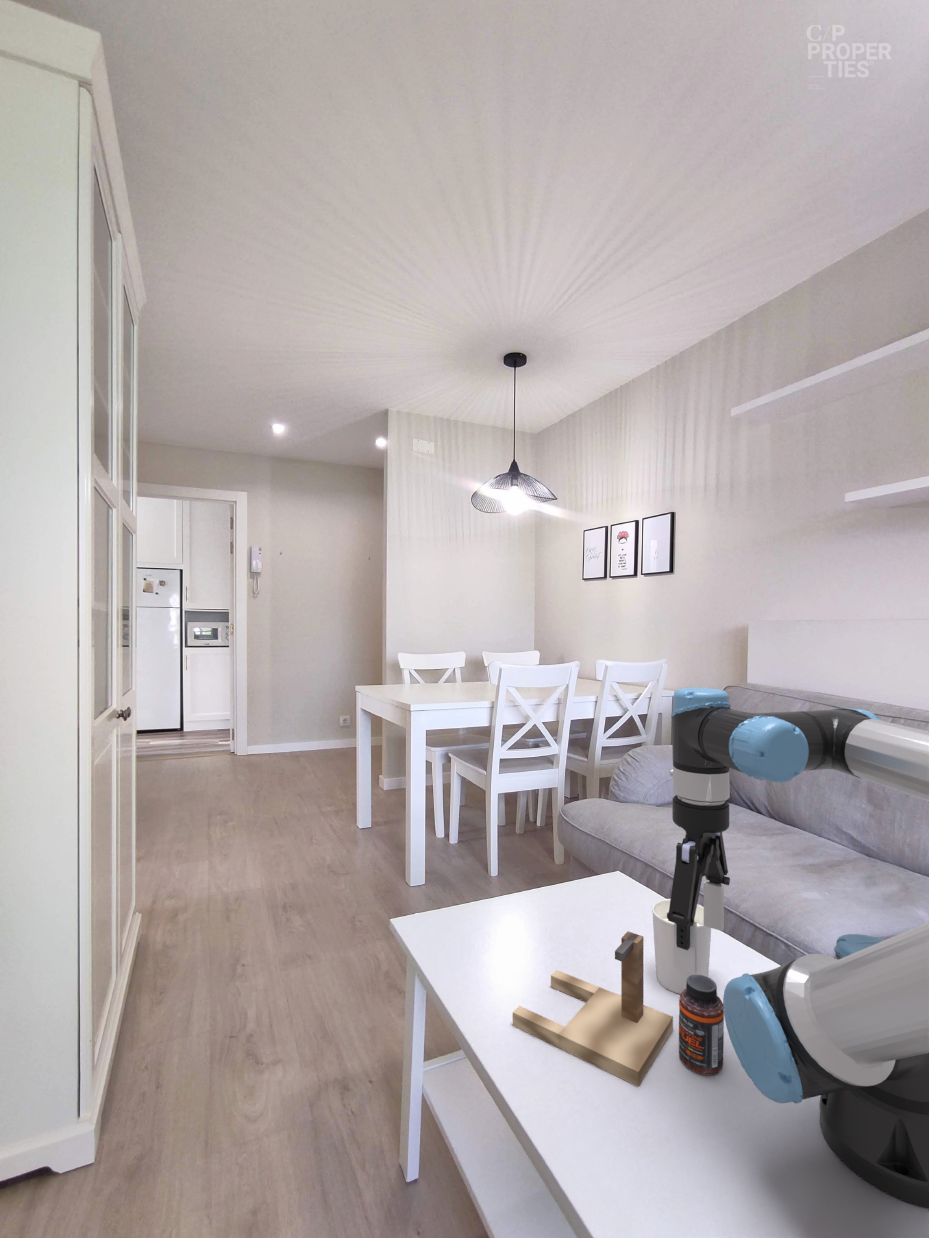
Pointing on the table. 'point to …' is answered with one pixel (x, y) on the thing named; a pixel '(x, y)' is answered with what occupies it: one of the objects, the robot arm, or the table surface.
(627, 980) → the hook post
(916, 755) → the robot arm
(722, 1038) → the supplement bottle
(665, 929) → the candle holder
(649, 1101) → the table surface
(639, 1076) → the oak forked base
